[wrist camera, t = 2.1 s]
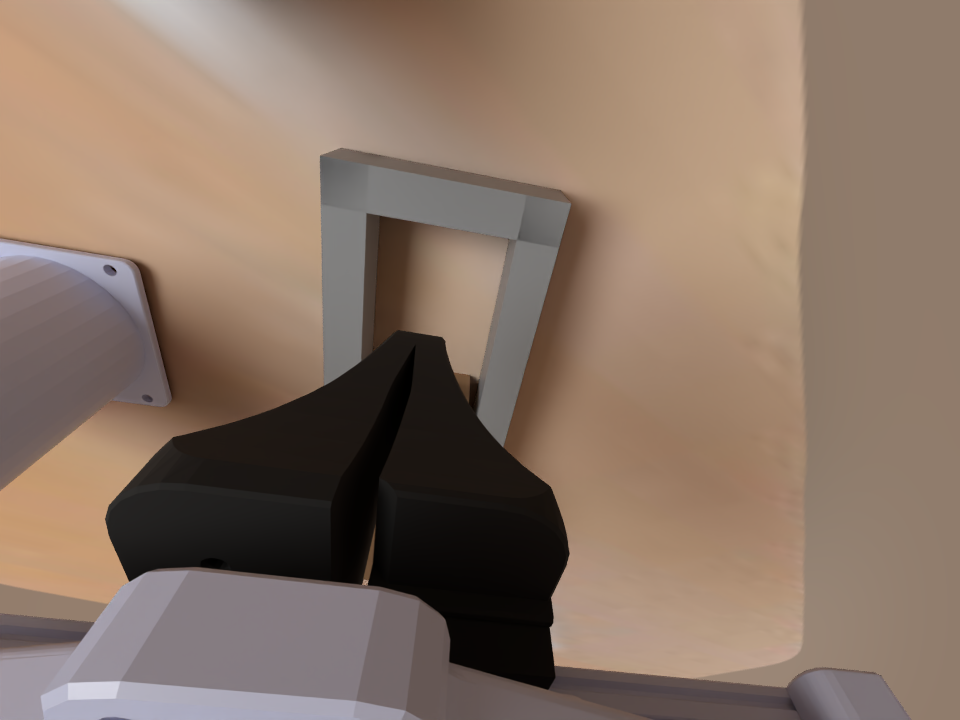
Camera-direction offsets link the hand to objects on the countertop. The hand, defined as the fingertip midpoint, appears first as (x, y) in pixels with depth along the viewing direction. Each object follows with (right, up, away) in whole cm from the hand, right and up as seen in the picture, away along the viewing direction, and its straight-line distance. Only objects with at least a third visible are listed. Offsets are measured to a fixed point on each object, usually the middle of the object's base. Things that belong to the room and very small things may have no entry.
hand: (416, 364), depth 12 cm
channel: (-2, -4, +12) cm, 13 cm away
